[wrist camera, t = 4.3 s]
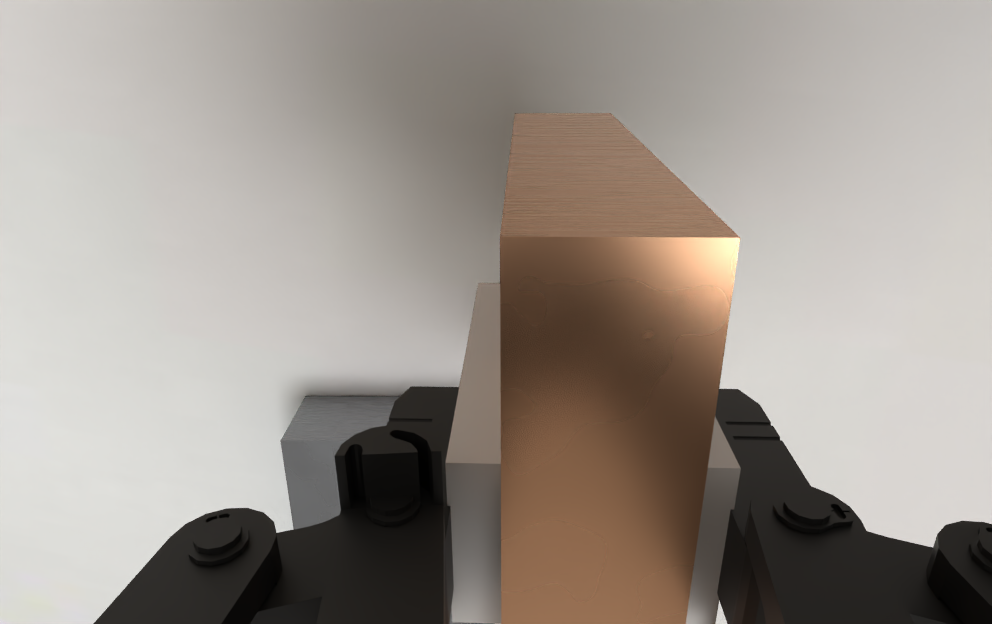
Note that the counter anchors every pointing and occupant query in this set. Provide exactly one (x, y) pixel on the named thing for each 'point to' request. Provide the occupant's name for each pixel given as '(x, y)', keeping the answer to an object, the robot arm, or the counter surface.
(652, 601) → the brown wooden block
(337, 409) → the rail
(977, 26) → the counter surface
